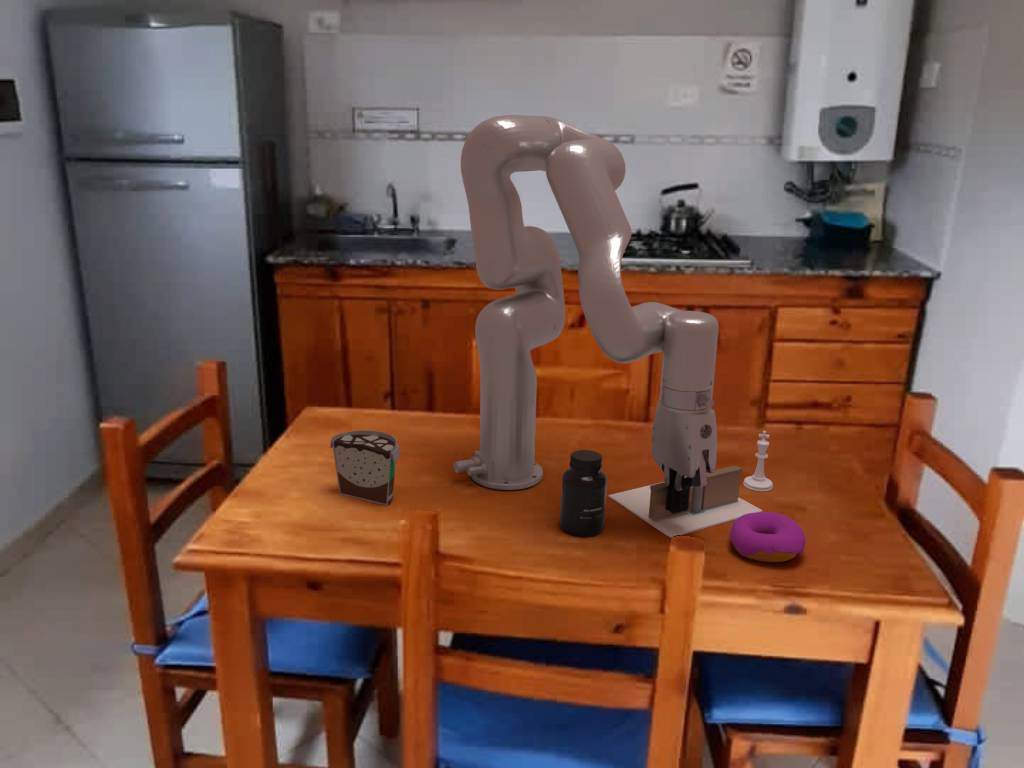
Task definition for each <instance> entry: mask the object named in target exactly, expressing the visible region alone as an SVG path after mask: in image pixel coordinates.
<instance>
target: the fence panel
mask: <svg viewBox="0 0 1024 768" xmlns="http://www.w3.org/2000/svg"><path fill="white" fill-rule="evenodd" d="M684 478H685V477H684ZM662 482H663V483H662ZM662 482H658V483H659V484H657V483H654V484H655V485H653V484H649V485H650V489H651V493H650V506H649V518H650V519H651V520H653V521H655V520H658V519H662V518H666V517H670V516H674V515H678V514H681V513H685V512H689V511H691V504H692V494H693V487H692V488H690V495H689V506H688V510H686V511H683V512H679V513H675V514H672V513H671V512H670V511H667V510H666V509H665V507H666V494H667V486H668V485H666V484H665V481H662Z"/></svg>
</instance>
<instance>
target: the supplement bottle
mask: <svg viewBox="0 0 1024 768" xmlns="http://www.w3.org/2000/svg"><path fill="white" fill-rule="evenodd" d="M568 464H569V468H566V469H565V471H564V472H563V473H562V477H561V478H562V479H561V493H560V494H561V496H560V508H559V509H560V511H559V525H560V528H561V529H562V530H563V531H564V532H565V533H568V534H569V535H572V536H576V537H583V538H584V537H592V536H593V537H594V536H596V535H598V534H600V533H601V532H602V531H603V529H604V527H605V518H606V507H607V506H606V504H607V493H608V491H607V489H608V478H607V475H606V473H605V472H604V471H603V470H602V469H603V455H602V454H601V452H600V453H599V452H598V451H595V450H590V449H578V450H574V451H572V452H571V453H570V459H569V463H568Z"/></svg>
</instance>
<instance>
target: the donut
mask: <svg viewBox="0 0 1024 768" xmlns="http://www.w3.org/2000/svg"><path fill="white" fill-rule="evenodd" d="M729 537H730V540H731V543H732V545H733V546H734V549H735V550H736V551H737V553H738V554H739V555H741V556H742V557H745V558H746V557H747V558H746V559H750V560H752V559H753V560H752V561H757V562H763V563H764V562H765V563H782V562H787V561H789V560H792V559H794V558H795V557H796V556H797V555H798V556H802V554H803V552H804V549H805V546H806V541H807V540H806V535H805V533H804V530H803V528H802V527H801V526H800V525H799V524H798V523H797V521H795V520H793V519H792V518H791V517H788V516H787V515H785V514H781V513H778V512H772V511H770V512H769V511H763V512H756V513H748V514H745V515H742V516H740V517H739V518H737V519H736V520H734V522H733V523H732V525H731V529H730V532H729Z"/></svg>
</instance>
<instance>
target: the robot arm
mask: <svg viewBox="0 0 1024 768" xmlns="http://www.w3.org/2000/svg"><path fill="white" fill-rule="evenodd" d="M626 170H627V169H626V162H625V158H624V157H623V154H622V152H621V151H620V149H619V148H618V147H617V146H616V145H615V144H614V143H612V142H611V141H609V140H607V139H605V138H603V137H601V136H599V135H596V134H593V133H591V132H589V131H586V130H584V129H581V128H579V127H576V126H574V125H572V124H570V123H567V122H565V121H562V120H560V119H557V118H554V117H551V116H545V115H524V114H522V115H521V114H505V115H504V114H503V115H497V116H493V117H490V118H487V119H485V120H483V121H481V122H480V123H478V124H477V125H476V126H475V127H474V128H472V130H471V131H470V132H469V134H468V136H467V137H466V139H465V141H464V143H463V146H462V149H461V153H460V172H461V178H462V183H463V187H464V190H465V191H464V193H465V196H466V202H467V206H468V215H469V222H470V231H471V238H472V239H471V240H472V247H473V254H474V260H475V267H476V272H477V276H478V277H479V278H478V279H479V280H480V281H481V283H482V284H483V285H484V286H485V287H486V288H489V289H491V290H496V291H497V290H499V291H500V290H507V289H512V288H515V294H513V295H509V296H505V297H502V298H498V299H496V300H494V301H491V302H490V303H488V304H487V305H486V306H484V307H483V308H482V309H481V310H480V312H479V314H478V315H477V317H476V320H475V324H474V325H475V327H474V332H475V340H476V346H477V350H478V352H477V353H478V359H479V370H480V372H479V373H480V374H479V376H480V377H479V379H480V382H479V383H480V384H479V385H480V387H479V388H480V389H479V390H480V392H479V393H480V400H479V401H480V403H479V407H480V410H479V449H478V450H474V451H473V452H474V454H473V456H471V457H470V458H469V459H466V460H465V459H464V460H458V461H455V462H453V469H454V472H455V473H456V474H459V473H464V472H466V473H467V475H468V476H470V477H471V479H472V480H473V481H474V482H475V483H476V484H478V485H480V486H483V487H485V488H489V489H493V490H499V491H500V490H501V491H502V490H503V491H515V490H516V491H517V490H523V489H527V488H530V487H534V486H535V485H537V484H539V483H540V482H541V480H542V479H543V475H544V469H543V467H542V466H541V465H540V464H539V463H537V462H536V461H535V449H536V445H535V444H536V419H537V417H536V416H537V392H538V391H537V389H538V388H537V386H538V381H537V379H538V378H537V372H536V367H535V366H534V362H533V359H532V356H531V350H534V349H536V348H539V347H542V346H544V345H546V344H548V343H549V344H550V342H553V341H554V340H556V339H557V338H558V337H559V336H560V335H561V334H562V332H563V329H564V328H565V323H566V304H565V302H566V301H565V293H564V292H565V291H564V285H563V276H562V267H561V266H562V265H561V260H560V252H559V251H558V247H557V245H556V243H555V241H554V239H553V238H552V236H551V235H550V234H549V233H548V232H547V231H545V230H544V229H542V228H540V227H538V226H533V225H532V226H531V225H527V226H525V224H524V217H523V216H524V215H523V207H522V201H521V198H520V197H521V196H520V195H519V193H518V190H517V188H516V187H515V184H514V183H513V181H512V180H511V175H512V174H514V173H518V172H521V173H522V172H535V171H536V172H538V171H542V172H545V176H546V179H547V183H548V184H549V185H548V186H549V187H550V189H551V192H552V194H553V197H554V199H555V200H556V203H557V205H558V207H559V210H560V212H561V214H562V217H563V219H564V222H565V224H566V227H567V229H568V231H569V233H570V236H571V238H572V240H573V242H574V246H575V247H576V250H577V252H578V268H577V277H578V278H577V280H578V281H577V282H578V296H579V301H580V306H581V309H582V312H583V315H584V317H585V320H586V323H587V324H588V327H589V329H590V331H591V333H592V336H593V338H594V340H595V342H596V344H597V346H598V347H599V349H600V350H601V351H602V353H603V354H604V355H605V356H606V357H607V358H608V359H610V360H612V361H613V362H616V363H621V364H629V363H630V364H631V363H634V362H637V361H639V360H642V359H643V358H646V357H647V356H650V355H654V354H658V353H661V352H662V365H661V376H660V392H659V399H658V401H657V404H656V405H657V406H656V410H655V412H654V413H655V414H654V418H653V425H652V431H651V434H652V435H651V445H650V448H651V455H652V457H653V458H654V462H655V464H656V465H657V466H658V467H659V468H660V469H661V470H662V472H663V475H664V478H663V479H664V481H663V482H665V484H666V485H668V486H667V494H666V507H665V509H666V510H667V511H670V512H671V513H672V514H675V513H679V512H683V511H686V510H688V506H689V495H690V488H692V487H693V486H697V487H700V486H705V485H707V476H706V472H707V473H713V472H714V471H715V470H716V468H717V467H716V465H717V455H718V454H717V451H718V450H717V449H718V435H717V434H718V431H717V430H718V429H717V418H716V412H715V410H714V409H712V407H713V406H714V404H715V403H714V402H715V401H714V399H713V394H714V382H715V373H716V364H717V363H716V360H717V351H718V340H719V339H718V338H719V322H718V320H717V318H716V316H714V315H713V314H710V313H707V312H703V311H698V310H697V311H696V310H682V309H680V308H679V309H678V308H676V307H672V306H670V305H668V304H663V303H660V302H655V301H649V302H647V301H646V302H642V303H640V304H637V305H633V306H632V305H631V303H630V301H629V298H628V297H627V294H626V291H625V288H624V284H623V279H622V272H621V270H622V268H621V267H622V266H621V265H622V260H623V256H624V253H625V251H626V249H627V246H628V244H629V242H630V240H631V237H632V234H633V233H632V228H631V224H630V222H629V220H628V219H627V216H626V214H625V210H624V209H623V207H622V204H621V202H620V200H619V197H618V195H617V193H616V190H618V189H619V188H620V186H621V185H622V183H623V182H624V179H625V176H626ZM684 477H685V478H684Z"/></svg>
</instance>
